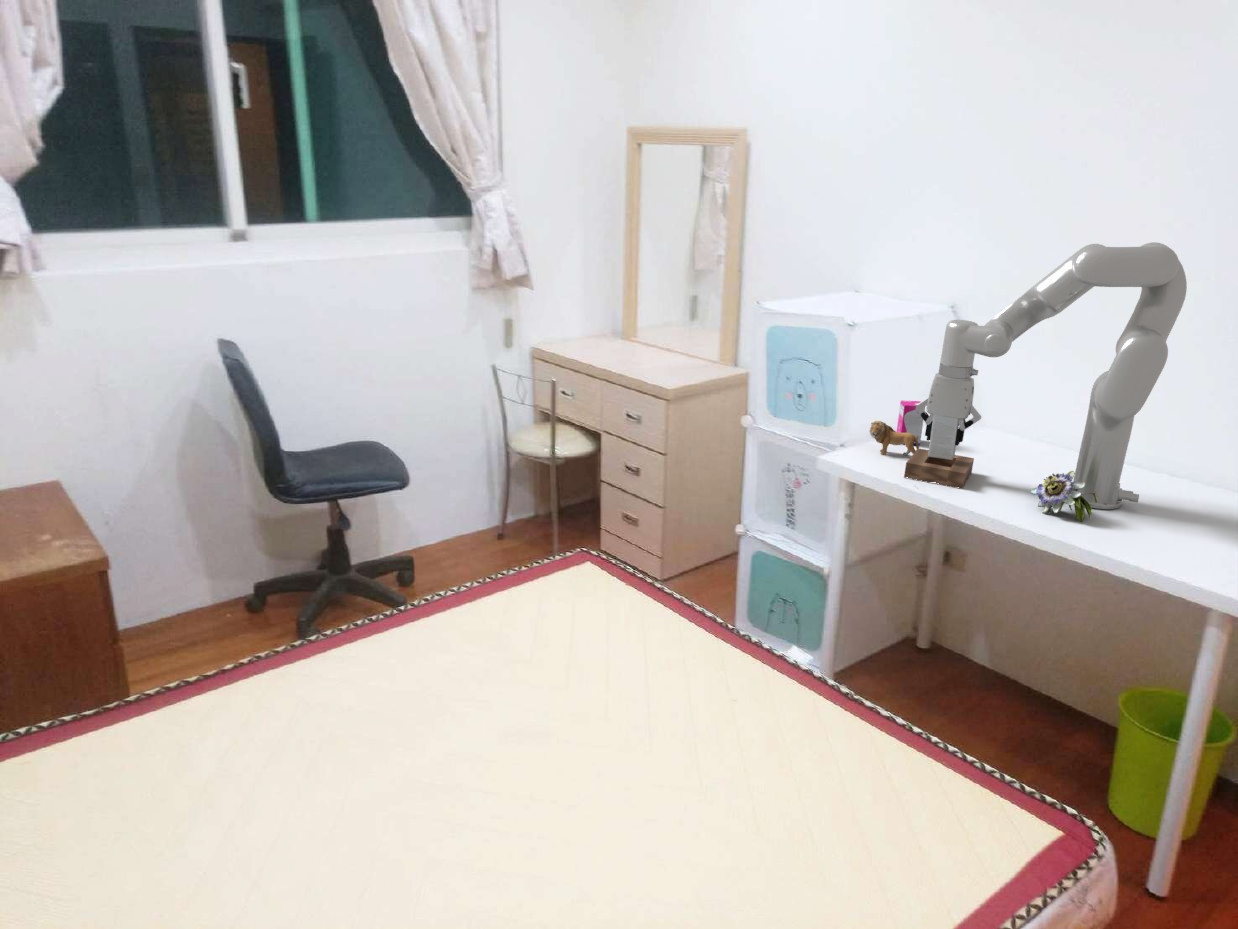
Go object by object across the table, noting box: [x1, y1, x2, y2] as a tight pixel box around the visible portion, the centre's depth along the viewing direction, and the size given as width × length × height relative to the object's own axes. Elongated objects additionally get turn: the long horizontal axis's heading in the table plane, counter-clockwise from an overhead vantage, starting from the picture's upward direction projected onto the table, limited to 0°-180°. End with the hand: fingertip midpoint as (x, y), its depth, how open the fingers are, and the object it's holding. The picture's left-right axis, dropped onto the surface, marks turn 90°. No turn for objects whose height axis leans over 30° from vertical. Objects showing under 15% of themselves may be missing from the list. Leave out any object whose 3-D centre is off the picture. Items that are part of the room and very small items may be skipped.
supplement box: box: [896, 399, 926, 446], centre depth 252 cm, size 6×6×12 cm
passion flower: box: [1029, 470, 1098, 523], centre depth 205 cm, size 11×11×12 cm
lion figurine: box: [869, 420, 920, 456], centre depth 241 cm, size 15×5×9 cm, turn 73°
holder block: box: [903, 447, 975, 489], centre depth 227 cm, size 14×14×4 cm
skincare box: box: [928, 414, 959, 460], centre depth 224 cm, size 6×4×12 cm
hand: (943, 441), depth 225 cm, fingers closed on skincare box, 6 cm apart
